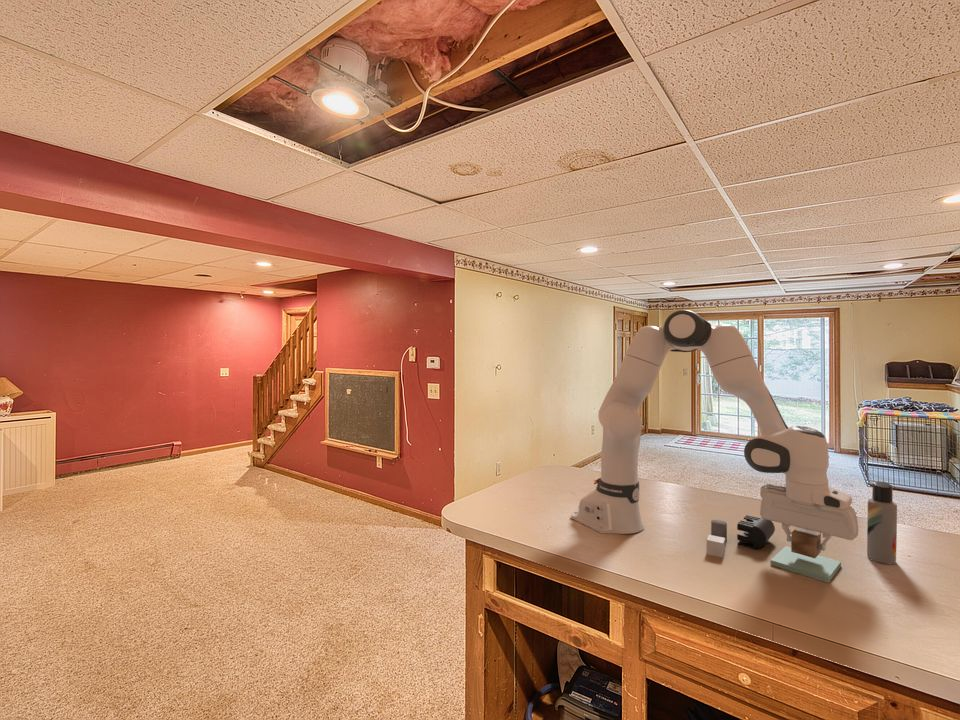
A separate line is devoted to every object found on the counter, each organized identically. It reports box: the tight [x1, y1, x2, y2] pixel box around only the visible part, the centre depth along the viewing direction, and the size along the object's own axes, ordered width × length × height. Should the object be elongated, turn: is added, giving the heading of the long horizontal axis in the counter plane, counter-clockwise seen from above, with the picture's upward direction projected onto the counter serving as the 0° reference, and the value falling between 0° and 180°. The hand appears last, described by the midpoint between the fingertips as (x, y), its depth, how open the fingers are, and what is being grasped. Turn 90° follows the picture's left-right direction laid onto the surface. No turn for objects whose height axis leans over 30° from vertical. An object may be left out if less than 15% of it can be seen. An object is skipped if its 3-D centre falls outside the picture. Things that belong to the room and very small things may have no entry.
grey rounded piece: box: [710, 519, 728, 543], centre depth 132 cm, size 4×4×5 cm
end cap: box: [736, 514, 776, 550], centre depth 129 cm, size 10×7×7 cm
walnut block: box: [790, 527, 822, 558], centre depth 116 cm, size 5×5×5 cm
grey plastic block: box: [706, 534, 726, 559], centre depth 123 cm, size 4×4×4 cm
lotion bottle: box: [866, 481, 898, 565], centre depth 118 cm, size 6×6×20 cm
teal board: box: [770, 545, 842, 583], centre depth 116 cm, size 12×12×1 cm
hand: (806, 545), depth 116 cm, fingers closed on walnut block, 5 cm apart
